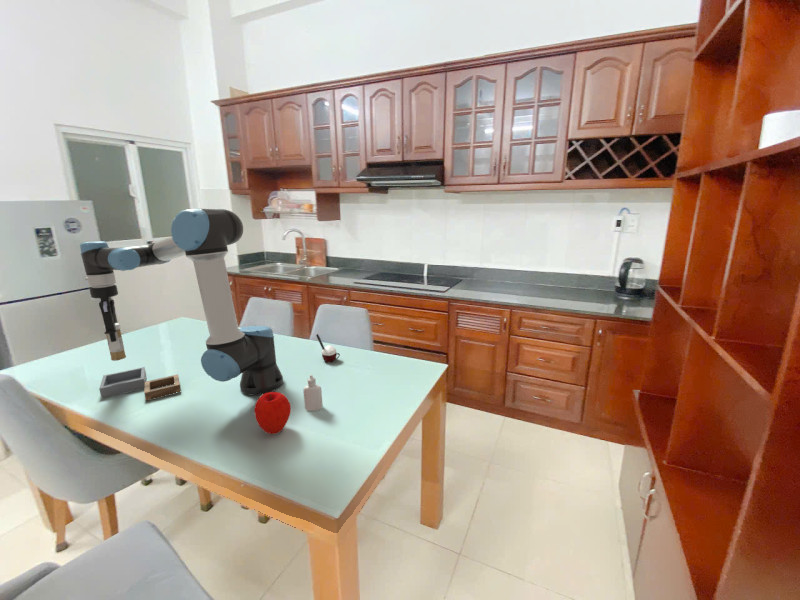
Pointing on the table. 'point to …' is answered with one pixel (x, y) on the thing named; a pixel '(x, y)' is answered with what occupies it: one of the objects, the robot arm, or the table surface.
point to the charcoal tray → (122, 382)
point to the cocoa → (328, 352)
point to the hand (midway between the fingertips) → (116, 347)
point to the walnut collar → (163, 390)
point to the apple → (272, 412)
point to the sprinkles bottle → (117, 353)
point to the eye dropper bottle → (312, 395)
